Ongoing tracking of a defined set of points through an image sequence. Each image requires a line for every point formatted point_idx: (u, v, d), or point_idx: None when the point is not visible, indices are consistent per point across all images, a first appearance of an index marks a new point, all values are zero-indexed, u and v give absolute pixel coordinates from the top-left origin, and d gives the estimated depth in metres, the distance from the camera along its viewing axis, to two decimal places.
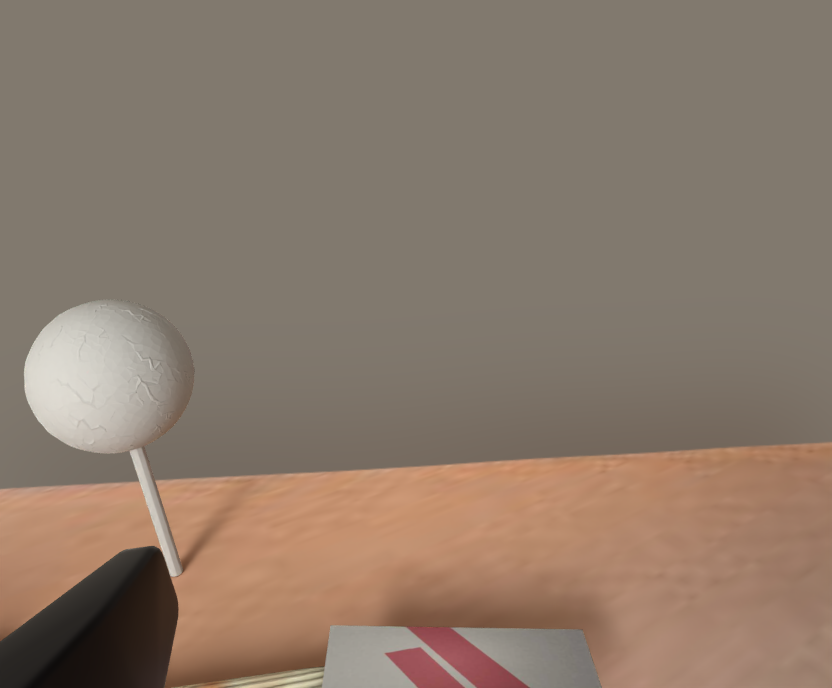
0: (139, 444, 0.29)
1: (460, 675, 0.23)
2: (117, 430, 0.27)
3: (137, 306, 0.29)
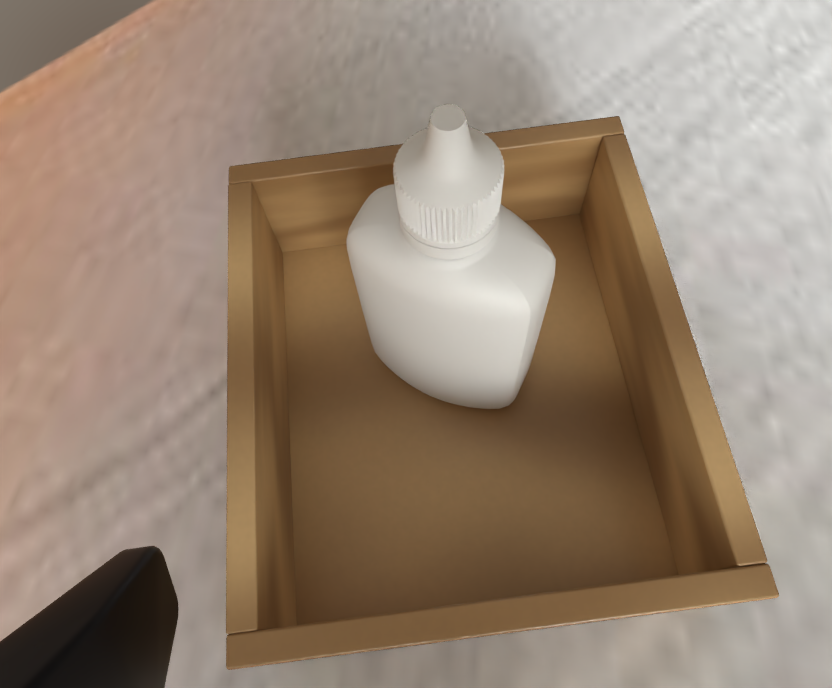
0: None
1: None
2: None
3: None
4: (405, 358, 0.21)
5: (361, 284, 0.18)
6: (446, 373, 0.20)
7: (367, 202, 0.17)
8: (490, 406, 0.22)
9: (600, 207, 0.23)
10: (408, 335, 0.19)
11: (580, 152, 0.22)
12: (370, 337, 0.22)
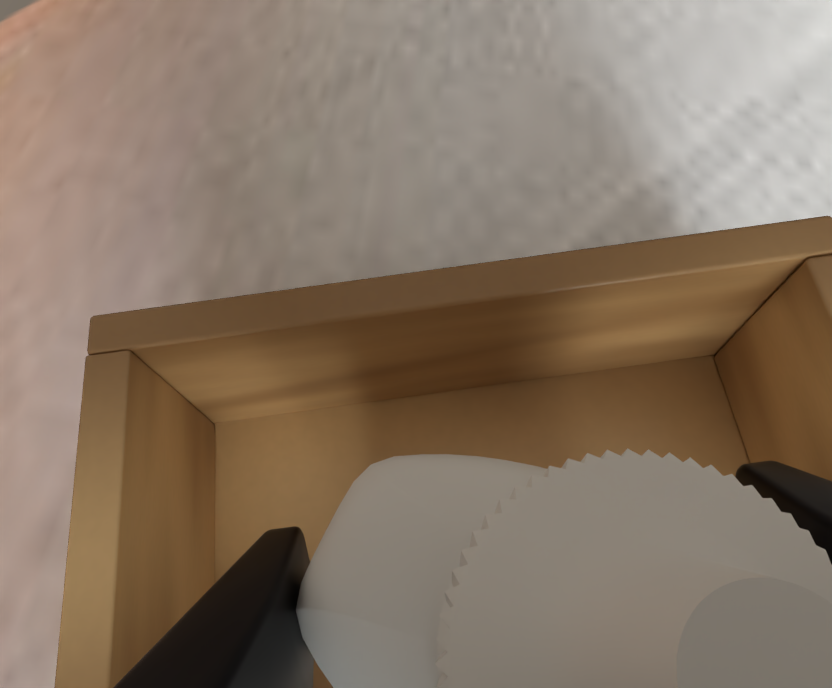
0: None
1: None
2: None
3: None
4: None
5: None
6: None
7: (348, 521, 0.07)
8: None
9: (782, 376, 0.13)
10: None
11: (753, 281, 0.12)
12: None
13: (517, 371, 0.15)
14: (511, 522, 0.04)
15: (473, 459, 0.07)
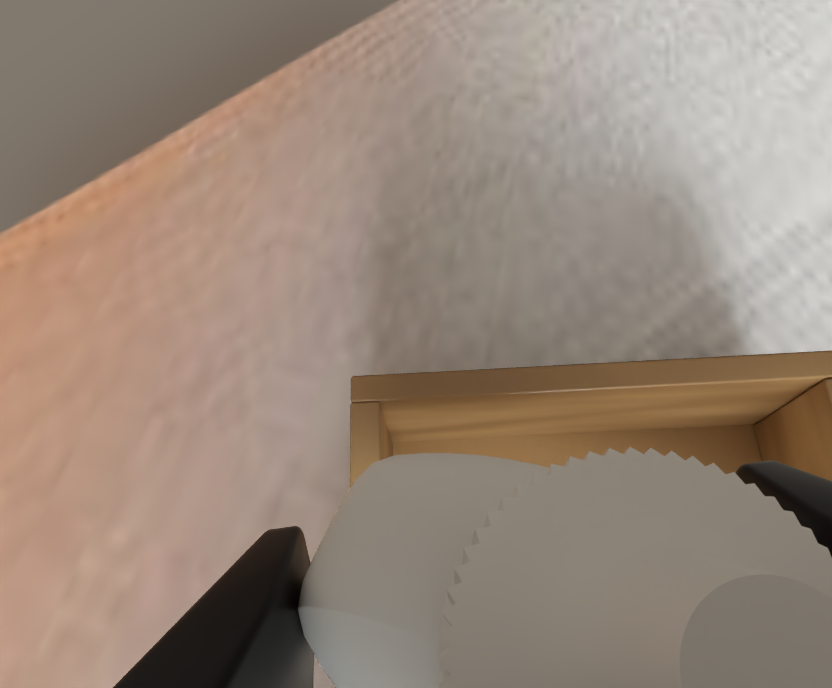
0: None
1: None
2: None
3: None
4: None
5: None
6: None
7: (350, 520, 0.07)
8: None
9: (802, 450, 0.18)
10: None
11: (787, 387, 0.18)
12: None
13: (612, 425, 0.21)
14: (513, 520, 0.04)
15: (475, 458, 0.07)
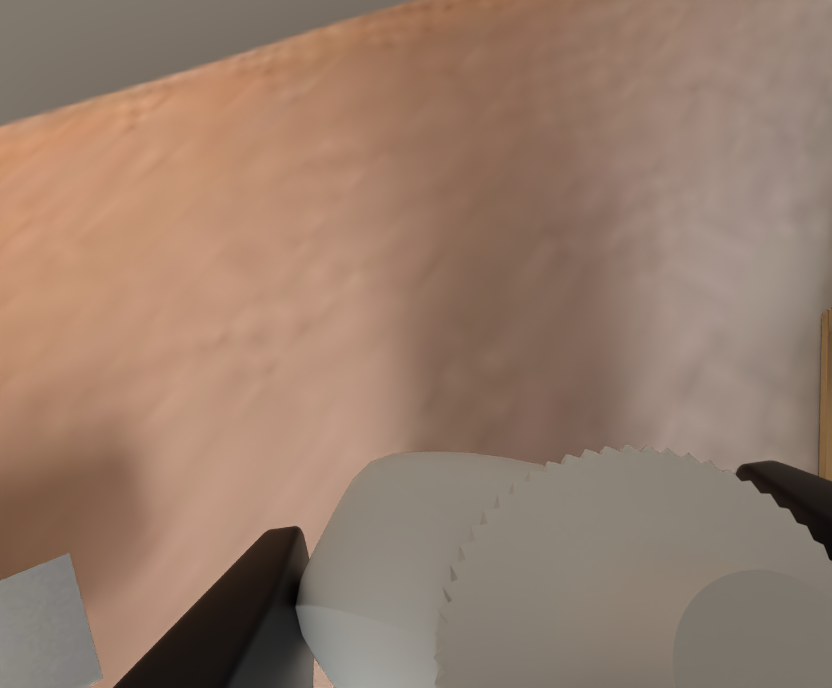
0: None
1: None
2: None
3: None
4: None
5: None
6: None
7: (348, 518, 0.07)
8: None
9: None
10: None
11: None
12: None
13: None
14: (510, 517, 0.04)
15: (473, 456, 0.07)
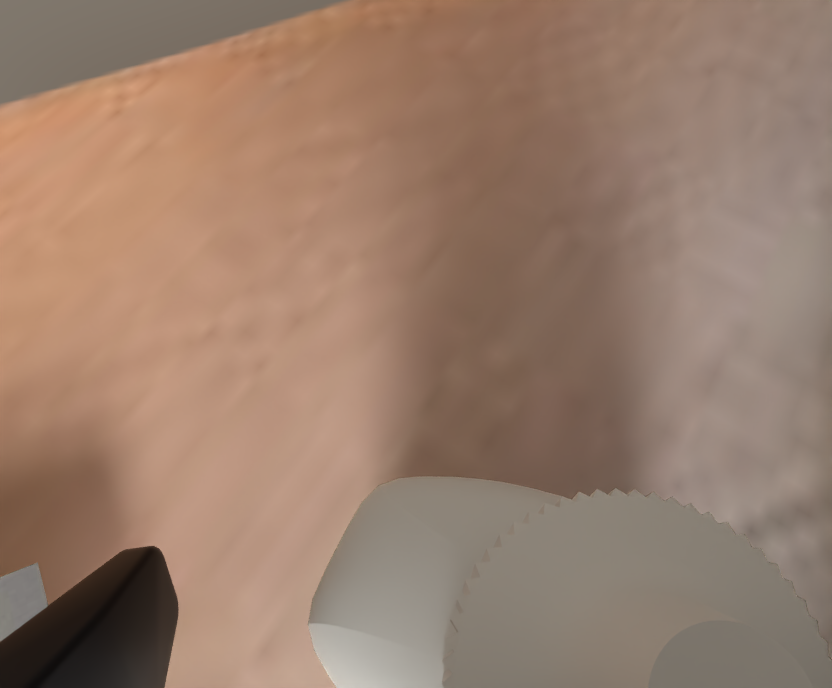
0: None
1: None
2: None
3: None
4: None
5: None
6: None
7: (357, 541, 0.07)
8: None
9: None
10: None
11: None
12: None
13: None
14: (510, 556, 0.04)
15: (475, 482, 0.07)
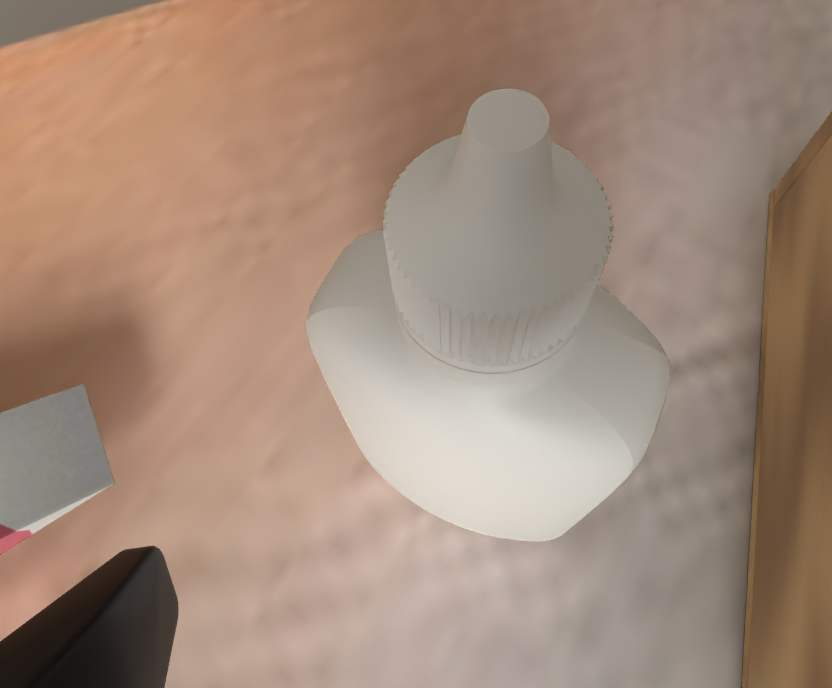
0: None
1: None
2: None
3: None
4: (405, 482, 0.14)
5: (334, 390, 0.11)
6: (470, 511, 0.13)
7: (340, 262, 0.10)
8: (531, 540, 0.15)
9: None
10: (411, 467, 0.12)
11: None
12: None
13: None
14: (424, 156, 0.07)
15: None
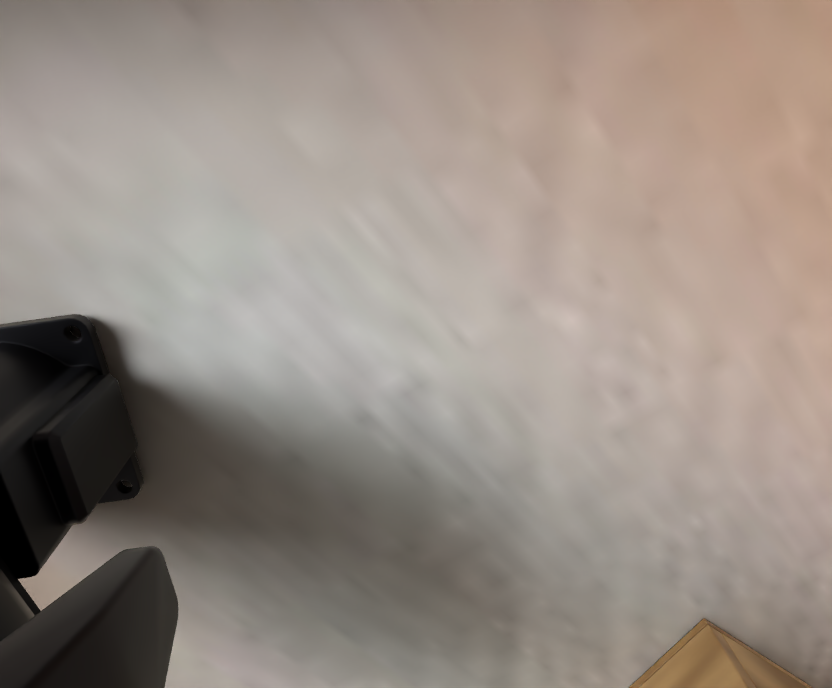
0: None
1: None
2: None
3: None
4: None
5: None
6: None
7: None
8: None
9: None
10: None
11: None
12: None
13: None
14: None
15: None
